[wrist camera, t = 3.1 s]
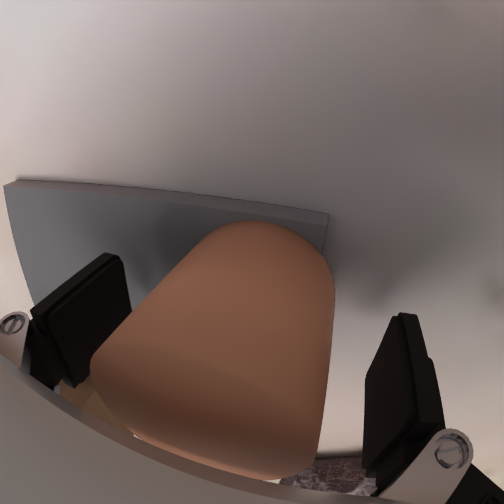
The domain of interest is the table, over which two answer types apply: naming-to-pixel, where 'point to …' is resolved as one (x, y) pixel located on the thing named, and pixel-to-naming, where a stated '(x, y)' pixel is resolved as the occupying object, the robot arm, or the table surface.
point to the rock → (334, 477)
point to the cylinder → (228, 354)
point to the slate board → (126, 229)
